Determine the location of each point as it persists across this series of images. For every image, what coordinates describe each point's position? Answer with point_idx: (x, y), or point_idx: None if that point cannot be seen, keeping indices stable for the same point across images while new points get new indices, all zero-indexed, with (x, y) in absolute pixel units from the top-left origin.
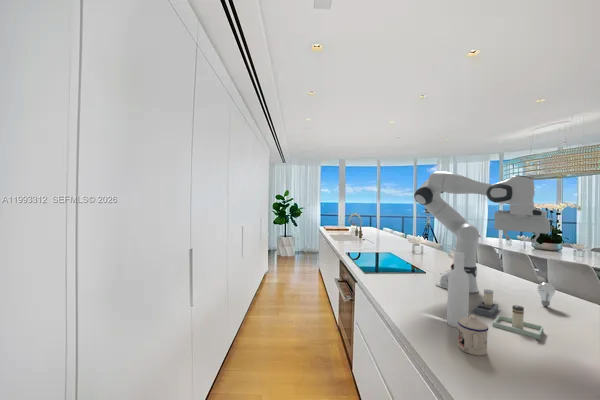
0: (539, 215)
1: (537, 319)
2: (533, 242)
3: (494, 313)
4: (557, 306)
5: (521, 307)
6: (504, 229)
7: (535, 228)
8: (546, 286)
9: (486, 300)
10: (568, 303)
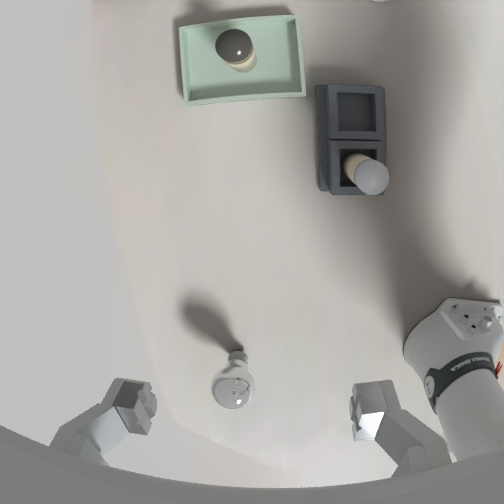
0: None
1: (226, 216)
2: (130, 380)
3: (328, 134)
4: None
5: (223, 48)
6: (446, 472)
7: (38, 489)
8: (226, 387)
9: (365, 156)
10: (210, 407)
